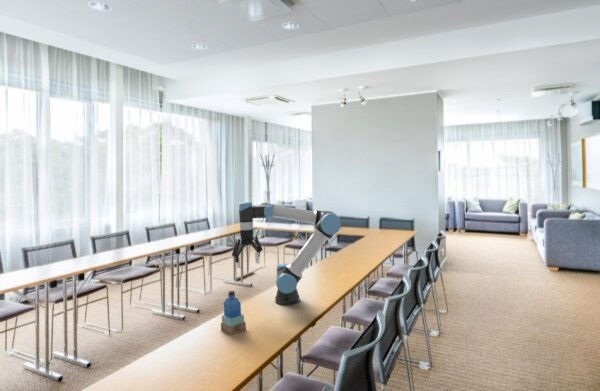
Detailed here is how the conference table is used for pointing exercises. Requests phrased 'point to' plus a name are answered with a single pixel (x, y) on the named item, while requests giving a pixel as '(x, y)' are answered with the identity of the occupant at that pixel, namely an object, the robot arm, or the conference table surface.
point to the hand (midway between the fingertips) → (248, 265)
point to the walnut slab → (233, 328)
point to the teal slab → (232, 320)
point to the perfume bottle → (232, 306)
